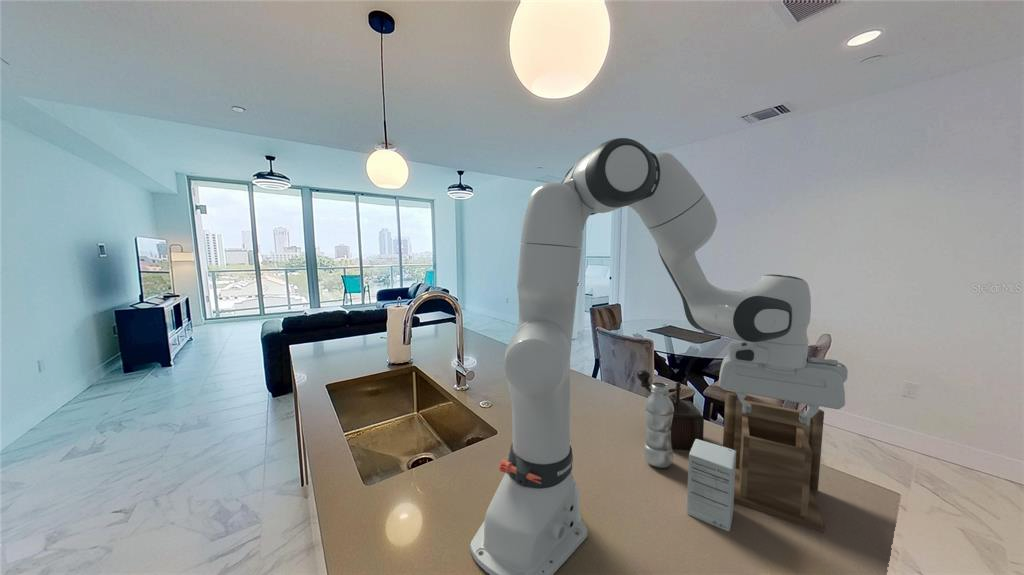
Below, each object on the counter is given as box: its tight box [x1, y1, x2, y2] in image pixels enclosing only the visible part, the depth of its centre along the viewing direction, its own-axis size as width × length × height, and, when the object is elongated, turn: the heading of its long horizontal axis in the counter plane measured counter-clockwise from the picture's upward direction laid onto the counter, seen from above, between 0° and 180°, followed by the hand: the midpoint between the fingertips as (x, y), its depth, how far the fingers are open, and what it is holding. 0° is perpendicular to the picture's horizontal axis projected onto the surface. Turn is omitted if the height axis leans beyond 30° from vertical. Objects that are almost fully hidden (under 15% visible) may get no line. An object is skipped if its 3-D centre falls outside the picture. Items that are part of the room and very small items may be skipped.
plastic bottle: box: [643, 381, 674, 469], centre depth 80 cm, size 6×7×20 cm
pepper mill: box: [636, 369, 705, 451], centre depth 92 cm, size 16×11×18 cm
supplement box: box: [686, 439, 736, 533], centre depth 65 cm, size 7×7×13 cm
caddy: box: [722, 392, 826, 533], centre depth 70 cm, size 14×17×18 cm
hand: (774, 417), depth 69 cm, fingers open, 8 cm apart
